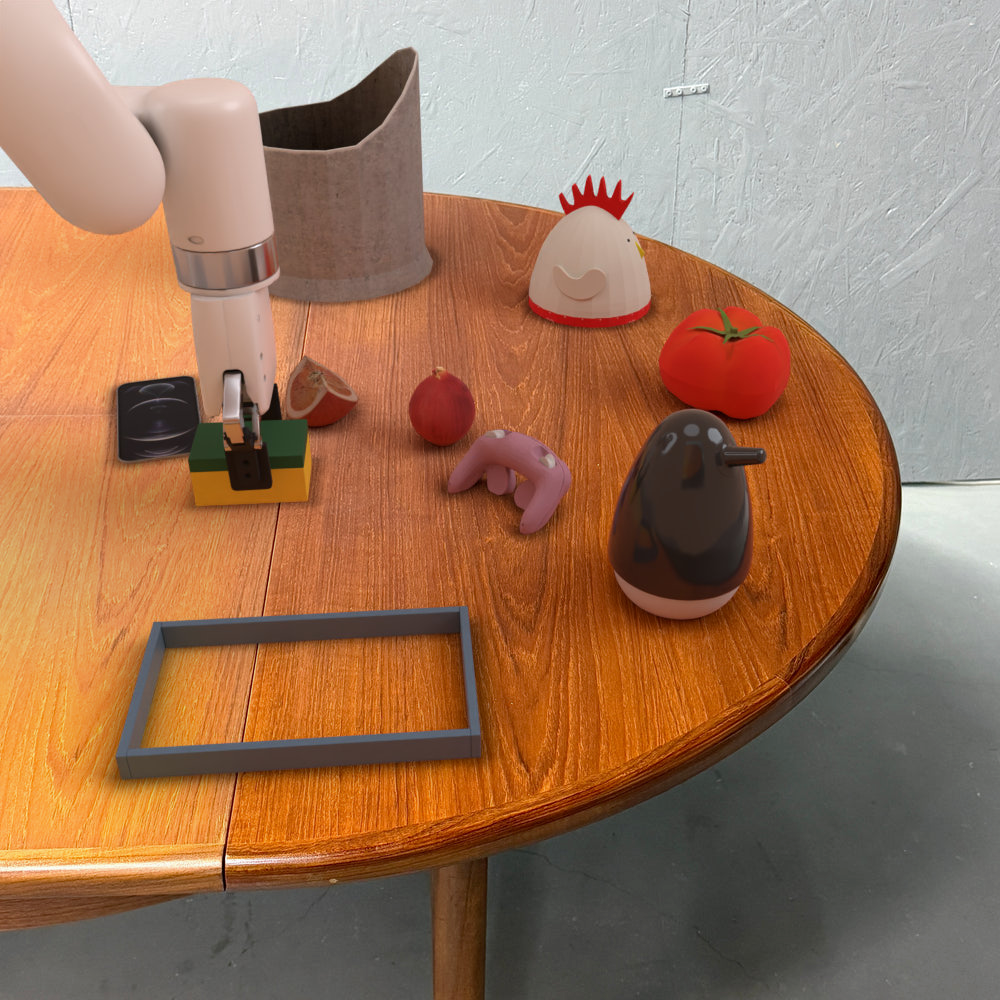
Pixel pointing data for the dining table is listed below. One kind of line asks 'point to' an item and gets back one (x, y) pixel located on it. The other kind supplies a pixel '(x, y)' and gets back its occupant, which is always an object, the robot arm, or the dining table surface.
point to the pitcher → (349, 189)
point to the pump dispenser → (685, 518)
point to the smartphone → (156, 419)
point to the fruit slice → (318, 394)
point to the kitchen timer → (591, 264)
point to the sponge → (284, 455)
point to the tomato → (726, 362)
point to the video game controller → (500, 460)
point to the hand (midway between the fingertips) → (258, 456)
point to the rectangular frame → (305, 750)
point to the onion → (442, 408)
